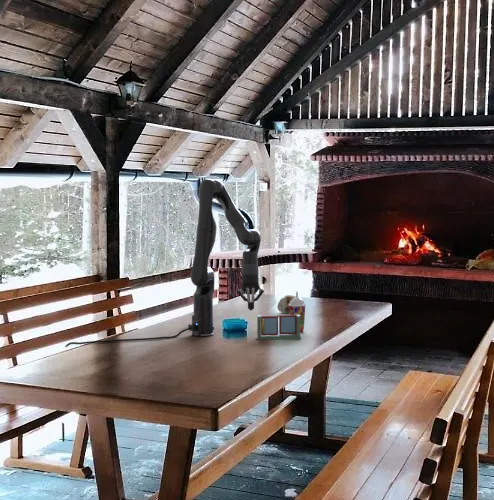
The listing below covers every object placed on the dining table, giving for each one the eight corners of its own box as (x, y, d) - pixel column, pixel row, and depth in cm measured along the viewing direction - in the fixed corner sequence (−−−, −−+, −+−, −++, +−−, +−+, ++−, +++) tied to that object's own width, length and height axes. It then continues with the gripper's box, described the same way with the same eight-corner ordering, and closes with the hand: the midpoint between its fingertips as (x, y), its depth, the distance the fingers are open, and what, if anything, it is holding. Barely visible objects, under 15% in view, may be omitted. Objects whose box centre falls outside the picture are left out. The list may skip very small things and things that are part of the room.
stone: (276, 309, 430) (276, 292, 429) (296, 309, 431) (296, 292, 430) (277, 314, 413) (277, 296, 412) (298, 314, 414) (298, 296, 413)
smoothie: (303, 333, 357) (303, 293, 355) (286, 333, 358) (286, 292, 357) (307, 330, 365) (306, 290, 363) (290, 330, 367) (290, 290, 365)
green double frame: (300, 339, 344) (300, 316, 343) (257, 339, 343) (257, 316, 342) (299, 337, 348) (299, 314, 347) (257, 337, 347) (257, 314, 346)
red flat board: (278, 336, 340) (278, 317, 340) (261, 337, 340) (260, 317, 339) (278, 335, 344) (278, 315, 344) (261, 335, 344) (261, 315, 343)
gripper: (264, 271, 342) (265, 308, 343) (236, 272, 341) (237, 309, 343) (264, 273, 335) (265, 311, 336) (235, 273, 334) (236, 311, 335)
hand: (251, 310), depth 339 cm, fingers closed
